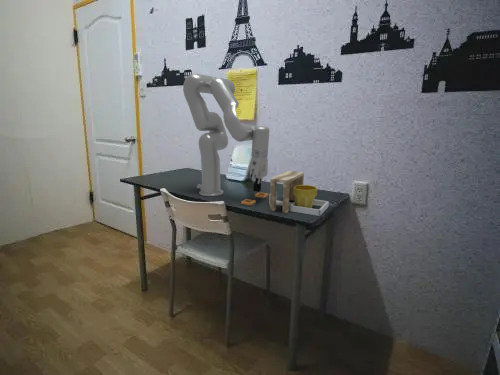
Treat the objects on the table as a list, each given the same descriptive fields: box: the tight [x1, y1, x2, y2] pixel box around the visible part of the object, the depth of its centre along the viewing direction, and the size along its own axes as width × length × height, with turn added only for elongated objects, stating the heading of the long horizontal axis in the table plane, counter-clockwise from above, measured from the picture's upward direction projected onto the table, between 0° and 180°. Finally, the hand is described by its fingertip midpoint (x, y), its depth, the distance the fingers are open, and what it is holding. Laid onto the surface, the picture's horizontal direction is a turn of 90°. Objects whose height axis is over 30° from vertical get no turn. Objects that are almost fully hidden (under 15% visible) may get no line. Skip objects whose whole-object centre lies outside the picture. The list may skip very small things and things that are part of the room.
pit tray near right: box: [240, 198, 257, 207], centre depth 140 cm, size 5×5×2 cm
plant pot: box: [293, 184, 318, 209], centre depth 133 cm, size 10×10×10 cm
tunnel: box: [269, 170, 305, 214], centre depth 137 cm, size 8×21×14 cm, turn 152°
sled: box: [268, 191, 330, 217], centre depth 135 cm, size 25×15×5 cm, turn 62°
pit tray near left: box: [254, 191, 269, 200], centre depth 152 cm, size 5×5×2 cm
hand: (257, 191), depth 144 cm, fingers closed
